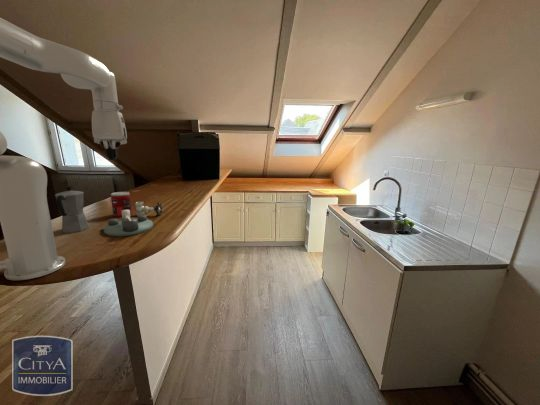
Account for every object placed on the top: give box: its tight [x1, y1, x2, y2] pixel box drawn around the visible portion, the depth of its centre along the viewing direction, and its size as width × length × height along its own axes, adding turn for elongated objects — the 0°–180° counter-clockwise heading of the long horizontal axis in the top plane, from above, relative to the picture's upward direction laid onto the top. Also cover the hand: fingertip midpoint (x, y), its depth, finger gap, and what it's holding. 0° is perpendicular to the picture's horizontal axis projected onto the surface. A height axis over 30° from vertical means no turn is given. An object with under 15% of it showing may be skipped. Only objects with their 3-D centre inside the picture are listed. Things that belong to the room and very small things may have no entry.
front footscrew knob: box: [120, 210, 139, 232], centre depth 100 cm, size 13×6×6 cm, turn 38°
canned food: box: [110, 191, 132, 218], centre depth 121 cm, size 8×8×11 cm
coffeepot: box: [54, 185, 90, 234], centre depth 98 cm, size 15×9×18 cm, turn 14°
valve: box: [134, 201, 164, 216], centre depth 122 cm, size 7×7×12 cm
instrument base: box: [103, 214, 154, 237], centre depth 103 cm, size 18×18×4 cm
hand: (112, 159), depth 92 cm, fingers closed
